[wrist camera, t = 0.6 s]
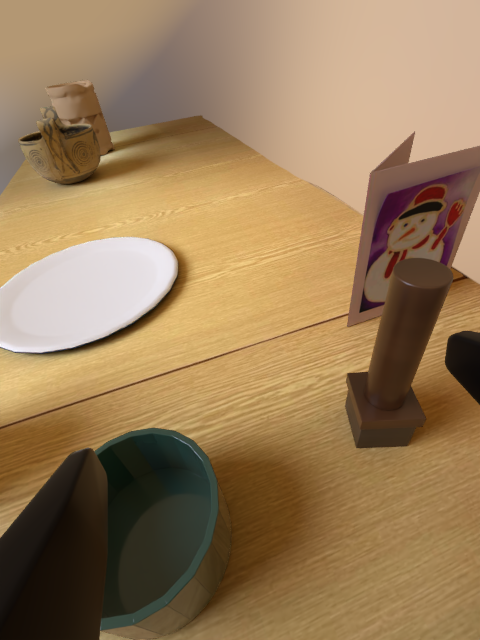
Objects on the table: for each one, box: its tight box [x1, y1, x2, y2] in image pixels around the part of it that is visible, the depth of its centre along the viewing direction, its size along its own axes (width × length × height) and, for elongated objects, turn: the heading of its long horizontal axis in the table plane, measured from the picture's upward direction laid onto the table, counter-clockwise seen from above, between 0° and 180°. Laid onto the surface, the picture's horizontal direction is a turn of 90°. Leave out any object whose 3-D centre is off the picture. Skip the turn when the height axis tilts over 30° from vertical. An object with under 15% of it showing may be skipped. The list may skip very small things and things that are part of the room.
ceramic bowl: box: [18, 106, 100, 184], centre depth 78 cm, size 22×17×15 cm
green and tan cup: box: [94, 428, 232, 640], centre depth 19 cm, size 9×9×6 cm
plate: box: [0, 237, 178, 354], centre depth 43 cm, size 25×25×1 cm
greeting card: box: [347, 132, 480, 327], centre depth 31 cm, size 11×7×15 cm, turn 109°
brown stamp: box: [345, 258, 453, 448], centre depth 20 cm, size 4×4×14 cm
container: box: [46, 80, 114, 155], centre depth 97 cm, size 13×13×18 cm
